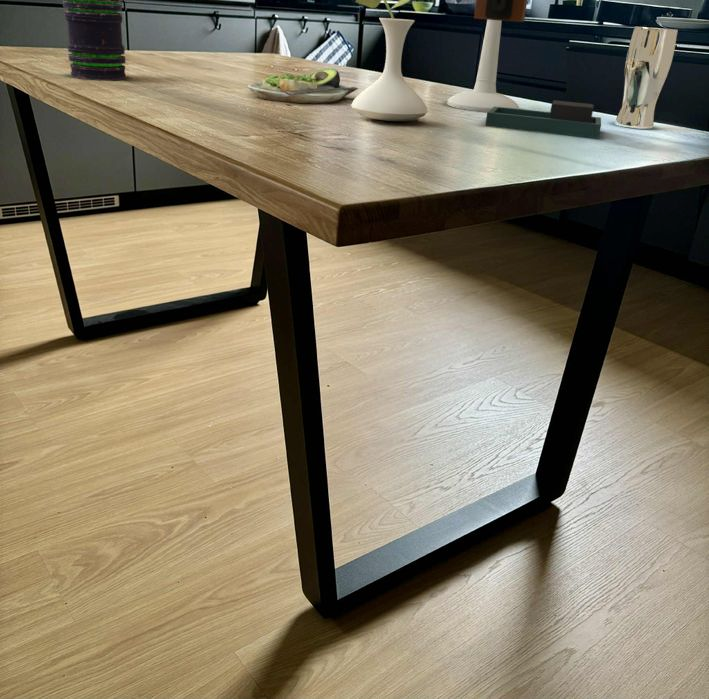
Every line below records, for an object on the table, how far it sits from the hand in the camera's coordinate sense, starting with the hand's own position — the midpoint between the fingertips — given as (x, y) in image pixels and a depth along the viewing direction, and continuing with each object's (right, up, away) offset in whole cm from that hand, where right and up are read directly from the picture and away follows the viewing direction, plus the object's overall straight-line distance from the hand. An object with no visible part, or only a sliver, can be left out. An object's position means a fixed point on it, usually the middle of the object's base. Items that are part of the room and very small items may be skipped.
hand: (500, 16), depth 93 cm
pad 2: (+14, -9, +16) cm, 23 cm away
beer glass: (+28, -6, +27) cm, 39 cm away
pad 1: (0, 0, 0) cm, 0 cm away
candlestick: (+4, +1, +37) cm, 37 cm away
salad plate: (-28, +1, +33) cm, 43 cm away
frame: (+10, -9, +17) cm, 22 cm away
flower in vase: (-15, -9, +15) cm, 23 cm away
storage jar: (-66, +7, +39) cm, 77 cm away
